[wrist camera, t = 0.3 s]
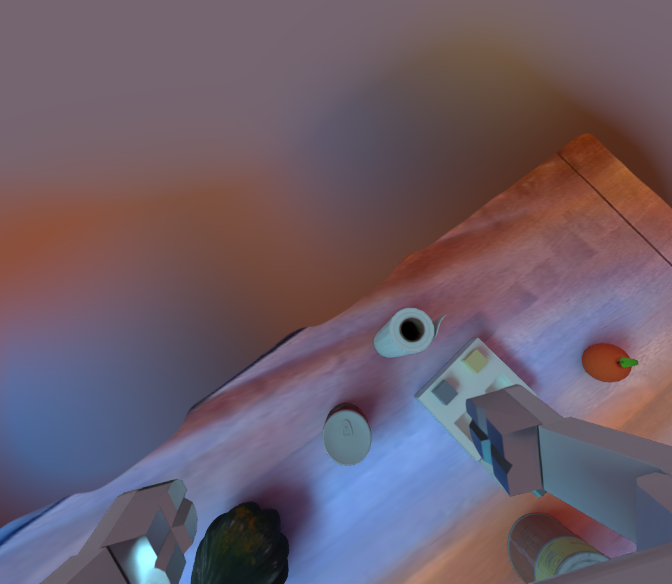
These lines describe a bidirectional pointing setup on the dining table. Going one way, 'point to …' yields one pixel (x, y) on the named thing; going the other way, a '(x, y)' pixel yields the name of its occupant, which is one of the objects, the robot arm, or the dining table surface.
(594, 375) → the clementine
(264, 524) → the squash
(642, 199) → the dining table surface
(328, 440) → the canned food
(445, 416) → the block
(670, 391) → the dining table surface
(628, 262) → the dining table surface
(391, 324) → the paper towel roll
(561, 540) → the canned food
